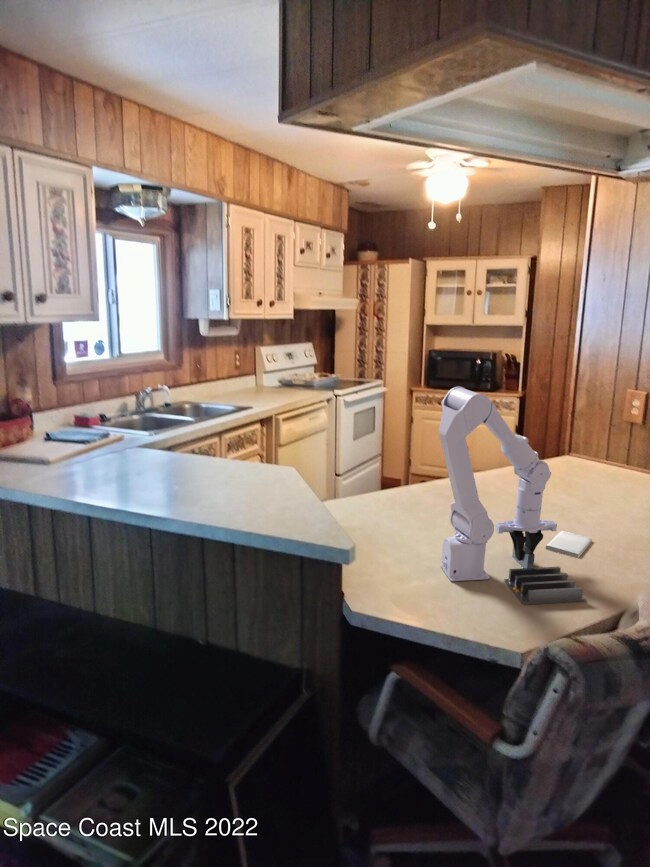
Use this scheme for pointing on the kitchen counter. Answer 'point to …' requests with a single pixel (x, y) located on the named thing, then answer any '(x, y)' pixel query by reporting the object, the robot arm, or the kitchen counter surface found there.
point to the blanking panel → (525, 558)
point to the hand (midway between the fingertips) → (522, 558)
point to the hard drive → (569, 543)
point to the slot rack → (543, 586)
